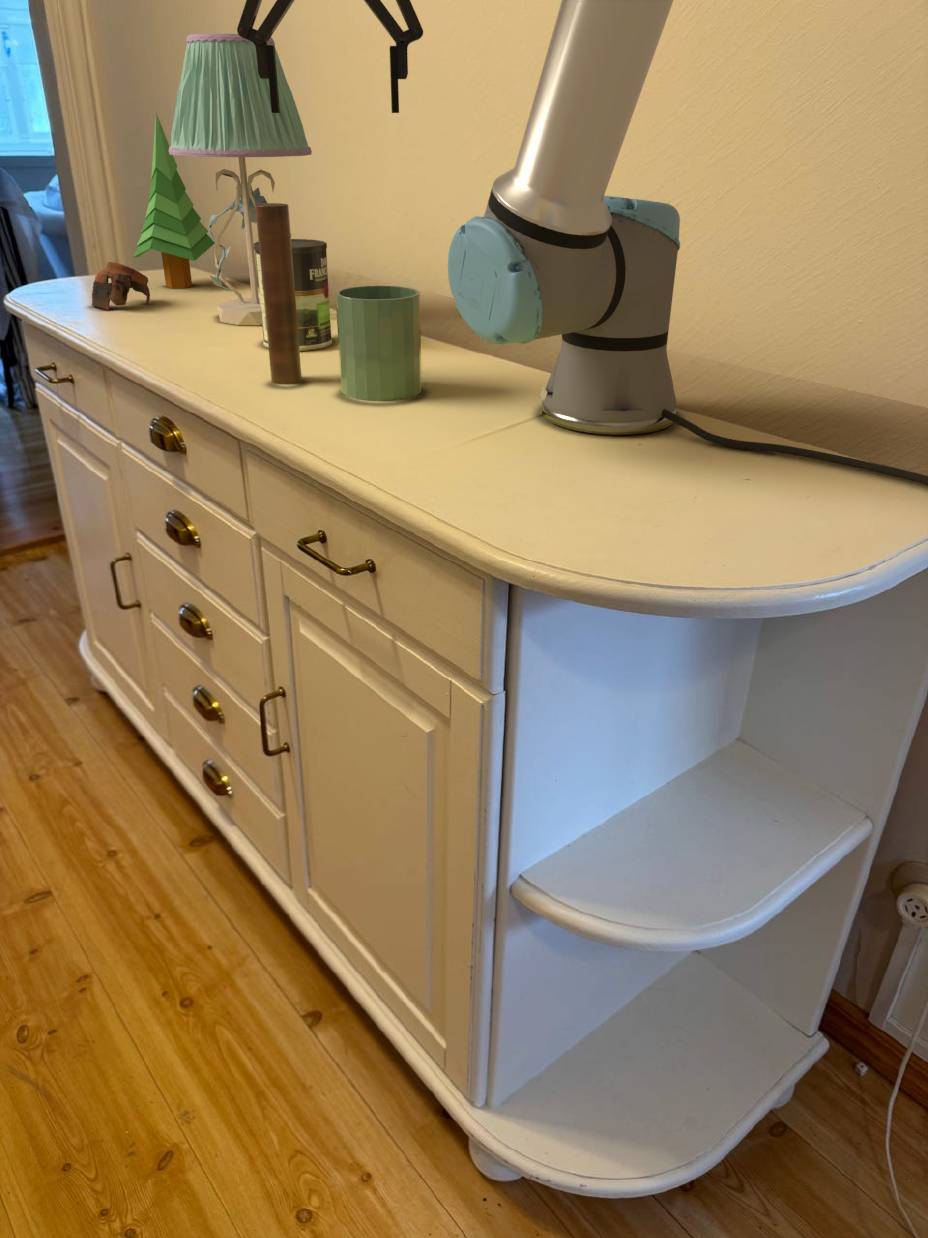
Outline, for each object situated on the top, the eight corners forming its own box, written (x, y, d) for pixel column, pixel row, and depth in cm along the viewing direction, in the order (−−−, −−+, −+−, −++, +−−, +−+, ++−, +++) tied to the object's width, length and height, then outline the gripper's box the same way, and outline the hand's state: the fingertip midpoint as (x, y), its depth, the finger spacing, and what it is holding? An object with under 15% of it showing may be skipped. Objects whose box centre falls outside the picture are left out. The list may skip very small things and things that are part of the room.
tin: (437, 393, 115) (436, 292, 109) (381, 409, 108) (377, 303, 103) (381, 379, 120) (378, 282, 115) (325, 394, 114) (318, 292, 108)
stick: (308, 383, 118) (294, 204, 108) (284, 389, 116) (269, 206, 106) (289, 378, 120) (274, 202, 110) (265, 384, 118) (248, 204, 108)
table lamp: (336, 308, 163) (321, 41, 144) (300, 333, 144) (278, 30, 125) (219, 303, 166) (189, 41, 146) (168, 328, 147) (126, 30, 128)
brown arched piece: (85, 306, 165) (99, 261, 164) (139, 327, 169) (152, 284, 169) (88, 299, 154) (103, 251, 154) (146, 322, 158) (160, 275, 158)
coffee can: (341, 338, 142) (336, 239, 135) (319, 353, 133) (312, 248, 126) (278, 334, 144) (269, 237, 137) (251, 349, 135) (241, 245, 128)
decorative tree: (219, 290, 177) (199, 112, 163) (134, 293, 174) (106, 111, 160) (220, 279, 189) (201, 112, 174) (140, 281, 186) (114, 111, 171)
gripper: (439, -111, 100) (441, 112, 110) (204, -116, 98) (229, 113, 108) (445, -127, 94) (447, 112, 104) (194, -133, 91) (221, 112, 102)
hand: (336, 113), depth 106 cm, fingers open, 13 cm apart
